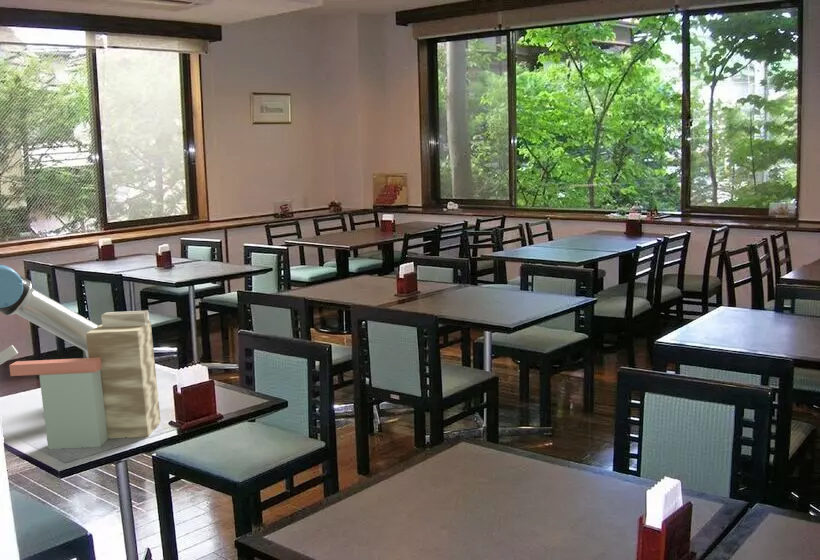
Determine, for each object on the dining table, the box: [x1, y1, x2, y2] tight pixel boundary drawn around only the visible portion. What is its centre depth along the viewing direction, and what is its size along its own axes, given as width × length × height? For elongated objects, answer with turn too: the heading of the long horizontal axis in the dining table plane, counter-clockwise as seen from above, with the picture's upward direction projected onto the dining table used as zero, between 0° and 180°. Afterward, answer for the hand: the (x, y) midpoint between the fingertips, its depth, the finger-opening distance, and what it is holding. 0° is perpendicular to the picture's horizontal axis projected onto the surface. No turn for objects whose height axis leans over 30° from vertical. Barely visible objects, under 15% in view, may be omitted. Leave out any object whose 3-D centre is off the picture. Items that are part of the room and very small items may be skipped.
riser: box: [38, 370, 109, 450], centre depth 229 cm, size 6×14×20 cm, turn 90°
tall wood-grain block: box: [86, 309, 162, 439], centre depth 237 cm, size 12×14×34 cm
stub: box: [9, 357, 102, 377], centre depth 227 cm, size 4×23×3 cm, turn 90°
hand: (3, 355), depth 227 cm, fingers open, 13 cm apart
